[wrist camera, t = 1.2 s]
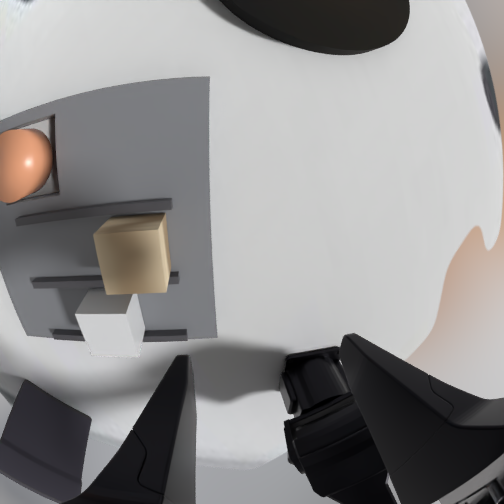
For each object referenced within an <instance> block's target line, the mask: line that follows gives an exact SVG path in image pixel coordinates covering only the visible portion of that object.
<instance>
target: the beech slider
mask: <svg viewBox="0 0 504 504" xmlns="http://www.w3.org/2000/svg"><path fill="white" fill-rule="evenodd" d="M93 237H94V242H95V247H96V252H97V257H98V261H99V266H100V270H101V274H102V279H103V283H104V286H105V290H106V294H107V295H114V294H143V293H166V292H167V287H168V281H169V276H170V271H171V260H170V252H169V242H168V232H167V222H166V213H155V214H142V215H130V216H119V217H110V218H109V219H108V220H107V221H106V222H105V223H104V224H103V225H102V226H101V227H100V228H99V229H98V230H97V231H96V232H95V233H94V234H93Z"/></svg>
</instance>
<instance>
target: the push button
mask: <svg viewBox="0 0 504 504" xmlns="http://www.w3.org/2000/svg"><path fill="white" fill-rule="evenodd" d="M52 164H53V152H52V147H51V144H50V141H49V139H48V138H47V136H46V135H45V134H44V133H43V132H42V131H40V130H38V129H17V130H8V131H5V132H3V133H2V134H0V201H2V202H5V203H12V202H15V201H17V200H19V199H22V198H24V197H26V196H28V195H30V194H32V193H35V192H37V191H38V190H40V189H41V188H42V187H43V186H44V185H45V183H46V182H47V180H48V178H49V176H50V173H51V169H52Z"/></svg>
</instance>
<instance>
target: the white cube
mask: <svg viewBox="0 0 504 504" xmlns="http://www.w3.org/2000/svg"><path fill="white" fill-rule="evenodd" d="M75 316H76V318H77V321H78V324H79V326H80V329H81V331H82V334H83V336H84V339H85V341H86V343H87V346H88V348H89V350H90V353H91V355H92V356H103V357H139V356H140V351H141V346H142V341H143V336H144V332H145V325H144V321H143V317H142V313H141V309H140V305H139V300H138V296H137V294H114V295H107V294H106V290H105V288H90V289H89V290H88V292H87V294H86V295H85V297H84V299H83V301H82V302H81V304H80V306H79V307H78V309H77V311H76V313H75Z"/></svg>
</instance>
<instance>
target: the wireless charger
mask: <svg viewBox="0 0 504 504" xmlns="http://www.w3.org/2000/svg"><path fill="white" fill-rule="evenodd" d="M220 1H221V2H222V3H223V4H224V5H225V6H226V7H227V8H228V9H229V10H230V11H231V12H232V13H233V14H234V15H236V16H237V17H238V18H240V19H241V20H242V21H244V22H245V23H247V24H248V25H250V26H252V27H253V28H255V29H257V30H258V31H260V32H262V33H264V34H266V35H268V36H270V37H272V38H274V39H277V40H279V41H281V42H284V43H286V44H289V45H292V46H295V47H298V48H301V49H305V50H309V51H313V52H318V53H324V54H331V55H355V54H361V53H365V52H369V51H372V50H375V49H377V48H380V47H383V46H385V45H388V44H390V43H391V42H393V41H394V40H396V39H397V38H398V37H399V36H400V35H401V34H402V32H403V31H404V29H405V28H406V25H407V23H408V19H409V14H410V5H409V0H220Z"/></svg>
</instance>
